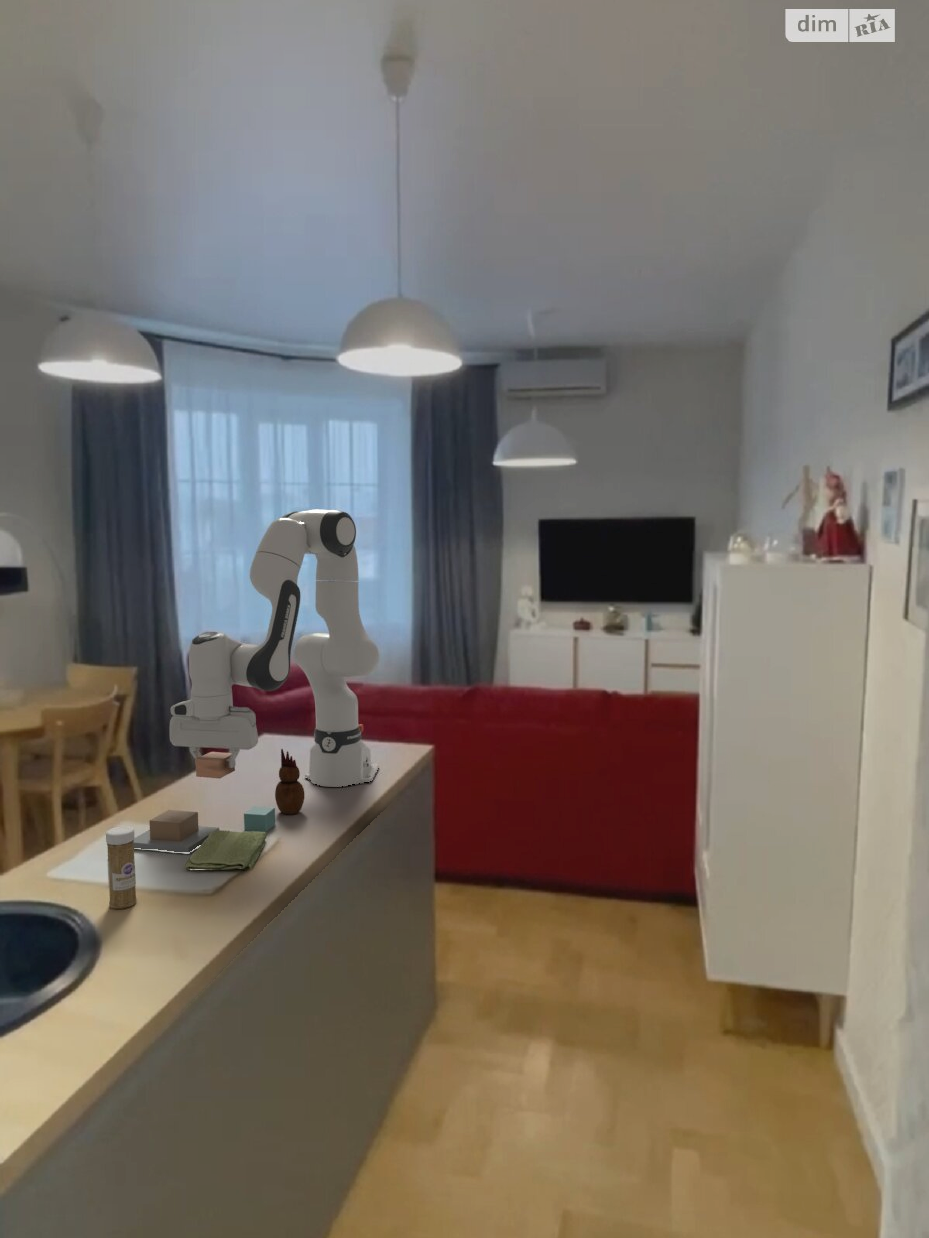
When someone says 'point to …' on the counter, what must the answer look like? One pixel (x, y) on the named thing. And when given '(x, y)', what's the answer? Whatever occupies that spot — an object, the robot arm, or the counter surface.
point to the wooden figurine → (289, 787)
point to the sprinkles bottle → (121, 867)
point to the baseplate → (174, 845)
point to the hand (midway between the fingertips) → (215, 766)
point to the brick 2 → (259, 819)
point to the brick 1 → (213, 765)
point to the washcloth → (228, 850)
